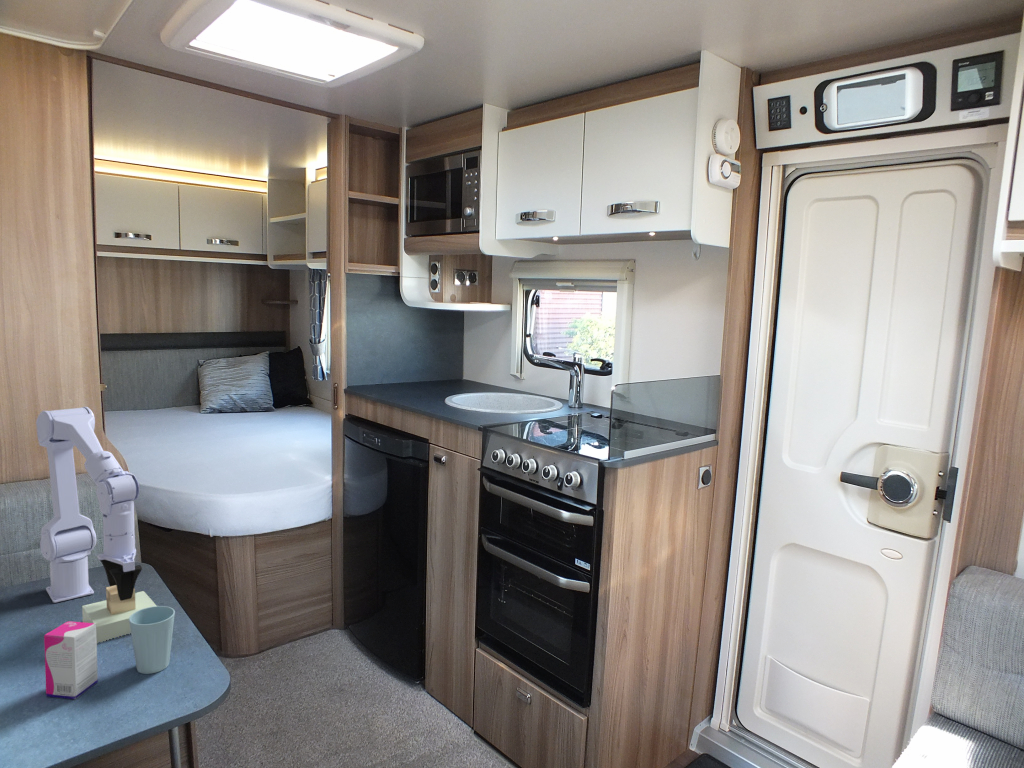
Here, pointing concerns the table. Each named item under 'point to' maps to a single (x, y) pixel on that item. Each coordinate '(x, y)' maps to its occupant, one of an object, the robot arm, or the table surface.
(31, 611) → the table surface
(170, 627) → the cup
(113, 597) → the birch block
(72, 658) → the supplement box
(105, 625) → the green box
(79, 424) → the robot arm
